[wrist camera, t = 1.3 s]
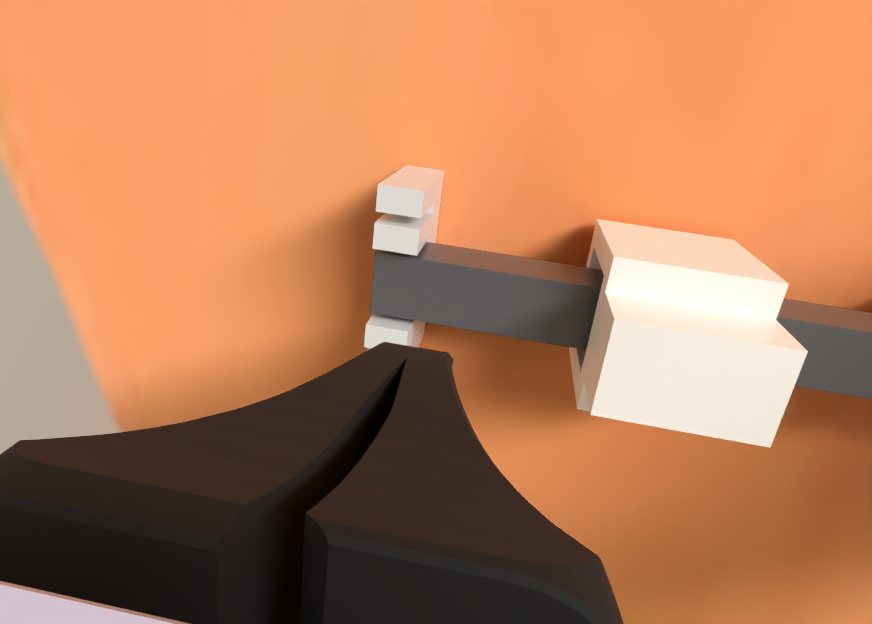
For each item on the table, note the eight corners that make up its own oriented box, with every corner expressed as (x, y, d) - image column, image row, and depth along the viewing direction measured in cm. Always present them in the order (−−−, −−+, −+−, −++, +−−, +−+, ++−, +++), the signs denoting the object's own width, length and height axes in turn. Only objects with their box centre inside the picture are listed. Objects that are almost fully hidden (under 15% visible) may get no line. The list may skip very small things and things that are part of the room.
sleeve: (733, 239, 18) (823, 311, 12) (693, 365, 19) (757, 480, 14) (596, 218, 18) (624, 279, 13) (568, 344, 20) (581, 447, 14)
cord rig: (1064, 261, 17) (1214, 313, 13) (974, 430, 19) (1082, 516, 15) (406, 164, 19) (375, 186, 15) (390, 328, 21) (358, 383, 17)
